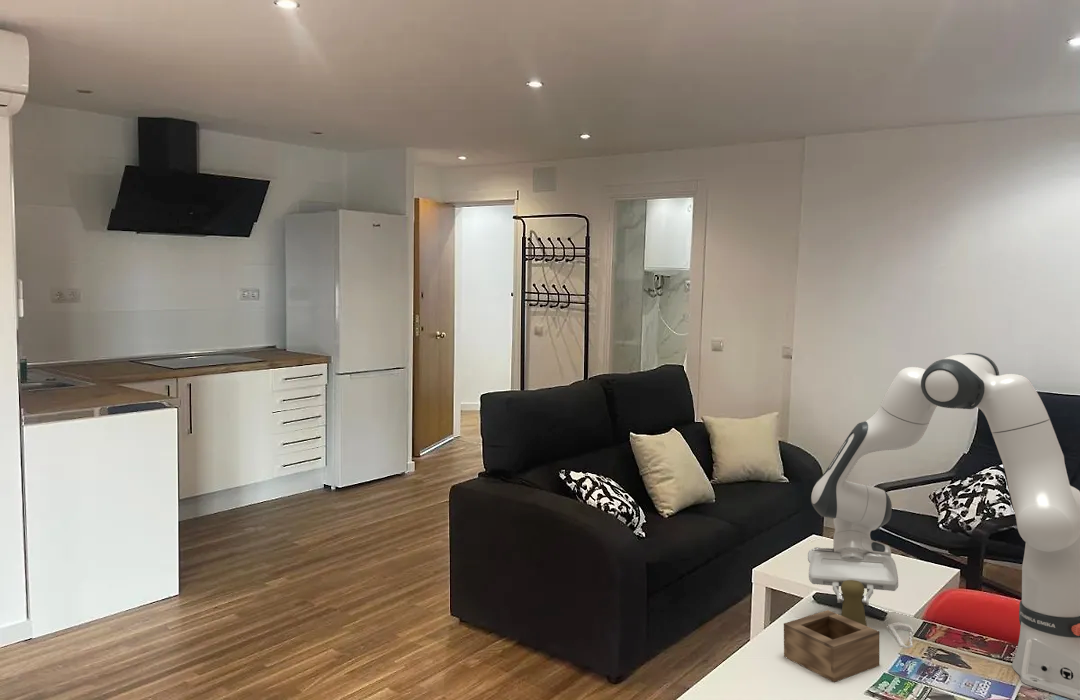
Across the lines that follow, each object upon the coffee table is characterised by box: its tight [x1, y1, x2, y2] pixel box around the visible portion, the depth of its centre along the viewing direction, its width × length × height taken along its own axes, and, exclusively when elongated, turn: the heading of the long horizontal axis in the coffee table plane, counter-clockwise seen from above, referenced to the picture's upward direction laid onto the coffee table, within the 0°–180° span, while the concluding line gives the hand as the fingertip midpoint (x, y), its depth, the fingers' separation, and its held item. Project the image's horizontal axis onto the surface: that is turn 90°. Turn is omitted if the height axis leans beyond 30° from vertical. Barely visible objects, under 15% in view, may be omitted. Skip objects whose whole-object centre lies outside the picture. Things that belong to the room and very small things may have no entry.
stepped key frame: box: [887, 621, 915, 649], centre depth 186 cm, size 13×5×2 cm, turn 172°
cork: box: [840, 580, 868, 627], centre depth 189 cm, size 6×6×11 cm
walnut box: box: [783, 609, 881, 683], centre depth 175 cm, size 14×14×8 cm
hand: (852, 603), depth 188 cm, fingers closed on cork, 4 cm apart
